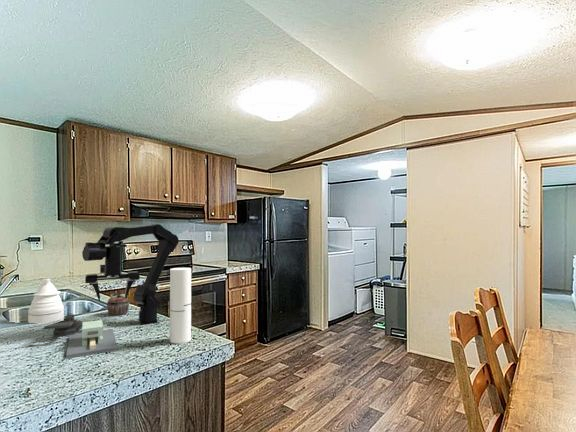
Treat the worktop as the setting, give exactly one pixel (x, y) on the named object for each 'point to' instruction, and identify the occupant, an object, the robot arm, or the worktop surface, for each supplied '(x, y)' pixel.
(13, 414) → the worktop surface
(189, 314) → the cylindrical container
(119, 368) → the worktop surface
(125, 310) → the cupcake
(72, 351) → the cleat board
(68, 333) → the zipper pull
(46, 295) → the honey pot
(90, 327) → the cabinet block
